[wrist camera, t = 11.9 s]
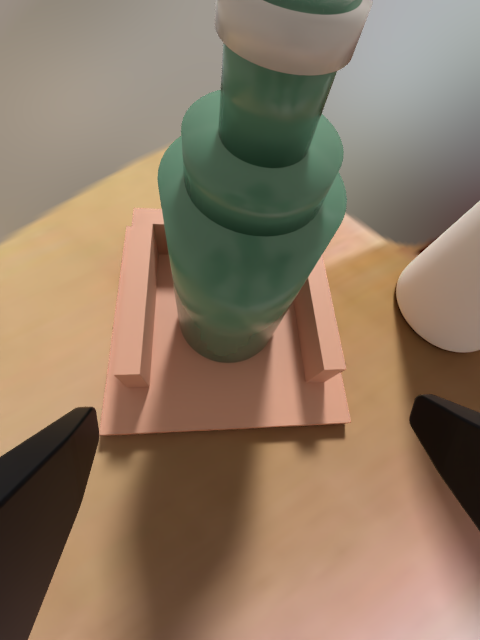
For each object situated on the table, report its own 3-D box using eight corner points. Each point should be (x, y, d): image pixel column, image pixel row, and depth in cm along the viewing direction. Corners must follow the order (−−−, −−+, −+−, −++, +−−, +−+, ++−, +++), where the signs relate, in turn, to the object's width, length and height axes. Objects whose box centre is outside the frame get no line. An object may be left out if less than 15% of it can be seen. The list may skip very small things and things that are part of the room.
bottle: (225, 384, 17) (320, 127, 4) (158, 312, 19) (48, -69, 5) (293, 320, 20) (504, 19, 6) (229, 260, 21) (284, -95, 7)
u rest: (344, 423, 18) (379, 416, 15) (103, 435, 16) (77, 430, 13) (309, 240, 24) (328, 204, 20) (128, 233, 22) (115, 192, 18)
